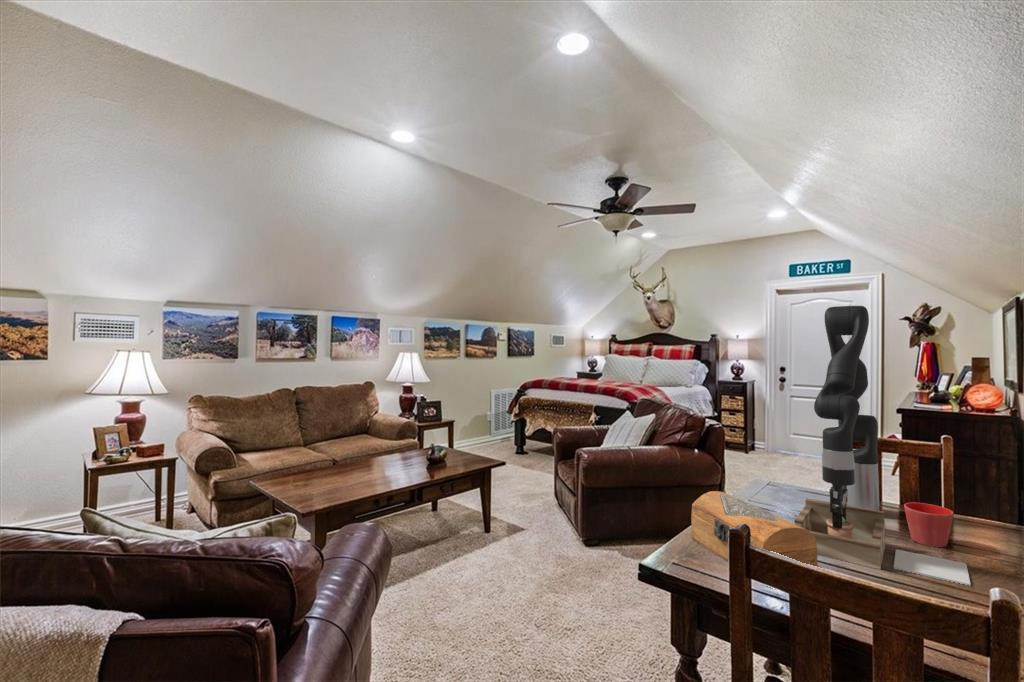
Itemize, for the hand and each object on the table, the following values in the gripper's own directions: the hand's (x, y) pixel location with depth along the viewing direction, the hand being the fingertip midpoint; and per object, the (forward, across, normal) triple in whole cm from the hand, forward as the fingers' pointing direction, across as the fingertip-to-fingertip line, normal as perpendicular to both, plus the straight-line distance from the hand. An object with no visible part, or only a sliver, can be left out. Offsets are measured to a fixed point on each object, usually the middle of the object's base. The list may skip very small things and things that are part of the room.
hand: (839, 523), depth 133 cm
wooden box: (+8, +23, -18) cm, 31 cm away
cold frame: (+7, 0, 0) cm, 7 cm away
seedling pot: (+7, 0, 0) cm, 7 cm away
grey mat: (+7, 0, +19) cm, 20 cm away
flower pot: (+7, -21, +19) cm, 29 cm away
